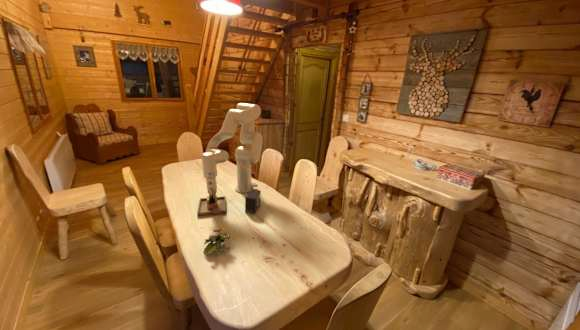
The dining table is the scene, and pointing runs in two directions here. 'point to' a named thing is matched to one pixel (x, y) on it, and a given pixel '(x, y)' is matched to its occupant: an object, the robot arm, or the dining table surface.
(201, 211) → the walnut tray
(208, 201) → the walnut cube
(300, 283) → the dining table surface
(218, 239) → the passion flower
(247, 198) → the small box
